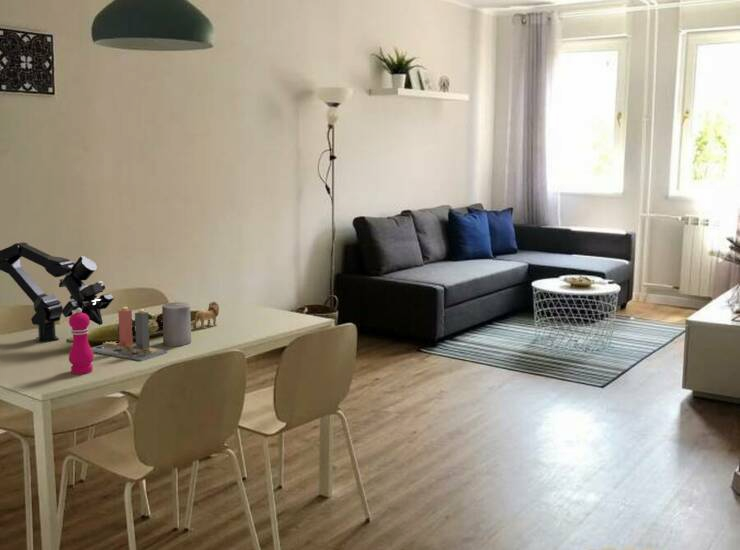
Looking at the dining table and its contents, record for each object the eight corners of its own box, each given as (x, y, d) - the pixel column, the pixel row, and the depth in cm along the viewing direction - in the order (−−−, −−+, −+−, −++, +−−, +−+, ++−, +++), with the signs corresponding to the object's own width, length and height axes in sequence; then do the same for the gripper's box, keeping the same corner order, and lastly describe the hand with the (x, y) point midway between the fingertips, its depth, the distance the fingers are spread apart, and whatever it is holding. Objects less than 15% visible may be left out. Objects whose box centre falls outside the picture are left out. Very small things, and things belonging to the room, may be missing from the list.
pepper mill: (64, 372, 248) (60, 308, 245) (83, 367, 254) (80, 304, 251) (80, 376, 244) (76, 311, 241) (99, 370, 250) (96, 307, 247)
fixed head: (131, 352, 268) (129, 311, 265) (142, 348, 272) (141, 308, 270) (137, 353, 266) (136, 312, 264) (149, 349, 271) (147, 309, 269)
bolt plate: (88, 351, 273) (88, 345, 273) (115, 344, 283) (114, 338, 283) (141, 360, 262) (140, 354, 261) (167, 352, 272) (166, 347, 272)
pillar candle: (163, 340, 290) (162, 299, 287) (191, 338, 292) (190, 298, 289) (162, 347, 280) (161, 304, 278) (191, 345, 282) (190, 303, 280)
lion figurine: (211, 322, 319) (210, 300, 317) (222, 323, 317) (222, 301, 315) (189, 330, 305) (188, 306, 304) (200, 331, 303) (200, 308, 302)
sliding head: (114, 349, 271) (112, 308, 269) (126, 346, 276) (124, 306, 274) (121, 350, 270) (119, 309, 267) (133, 347, 274) (131, 307, 272)
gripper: (66, 278, 270) (91, 314, 266) (109, 271, 286) (133, 305, 282) (51, 298, 275) (75, 334, 271) (94, 290, 291) (117, 324, 287)
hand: (101, 324), depth 278 cm, fingers closed
